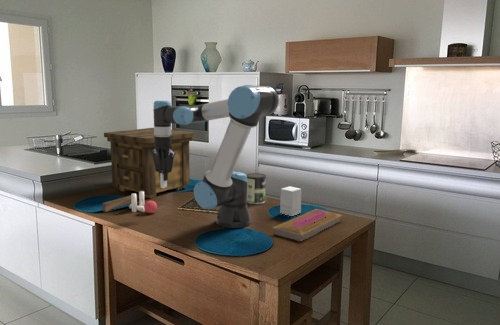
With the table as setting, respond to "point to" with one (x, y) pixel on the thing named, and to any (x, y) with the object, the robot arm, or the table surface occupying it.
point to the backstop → (116, 203)
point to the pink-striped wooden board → (310, 218)
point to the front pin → (138, 208)
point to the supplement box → (290, 201)
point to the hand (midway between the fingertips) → (163, 187)
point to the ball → (150, 206)
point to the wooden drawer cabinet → (147, 161)
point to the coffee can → (256, 188)
